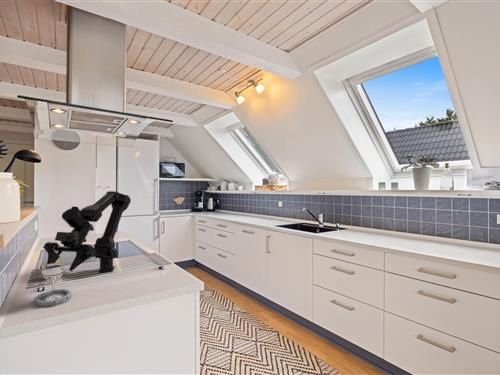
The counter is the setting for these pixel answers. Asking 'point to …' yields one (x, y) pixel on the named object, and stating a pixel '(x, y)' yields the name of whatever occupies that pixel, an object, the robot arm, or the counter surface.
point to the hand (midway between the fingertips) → (58, 269)
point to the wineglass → (52, 276)
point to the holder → (42, 302)
